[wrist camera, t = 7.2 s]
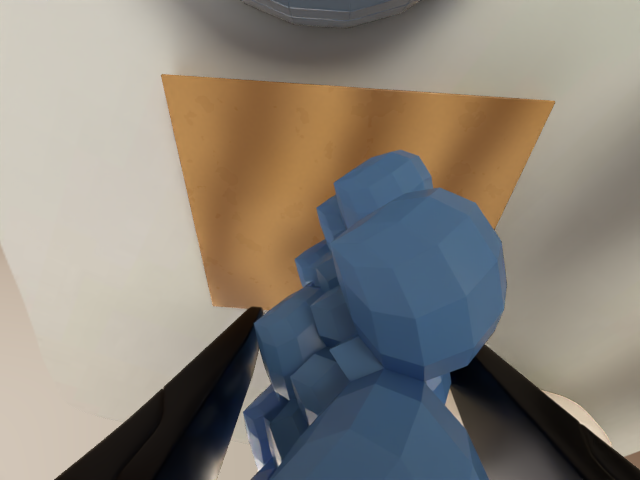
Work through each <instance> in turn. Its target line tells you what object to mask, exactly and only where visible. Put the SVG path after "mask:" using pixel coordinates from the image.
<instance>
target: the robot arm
mask: <svg viewBox="0 0 640 480" xmlns="http://www.w3.org/2000/svg"><path fill="white" fill-rule="evenodd" d="M262 316H263V308H262V307H257V306H251V307H250V308H249V309H248V310H246V311H245V312H244V313H243V314H242V315H241V316H240V317H239V318H238V319H237V320H236V321H235V322H233V323H232V324H231V325H230V326H229V327H228V328H227V329H226V330H225V331H224V332H223V333H222V334H220V335H219V336H218V337H217V338H216V339H215V340H214V341H213V342H212V343H211V344H210V345H209V346H207V347H206V348H205V349H204V350H203V351H202V352H201V353H200V354H199V355H198V356H197V357H196V358H195V359H193V360H192V361H191V362H190V363H189V364H188V365H187V366H186V367H185V368H184V369H183V370H182V371H180V372H179V373H178V374H177V375H176V376H175V377H174V378H173V379H172V380H171V381H170V382H169V383H167V384H166V385H165V386H164V389H161V390H160V391H159V392H158V393H156V394H155V395H154V396H153V397H152V398H151V399H150V400H149V401H148V402H147V403H146V404H144V405H143V406H142V407H141V408H140V409H139V410H138V411H137V412H135V413H134V414H133V415H132V416H131V417H130V418H129V419H128V420H126V421H125V422H124V423H123V424H122V425H121V426H119V427H118V428H117V429H116V430H114V431H113V432H112V433H111V434H110V435H108V436H107V437H106V438H105V439H104V440H103V441H101V442H100V443H99V444H98V445H96V446H95V447H94V448H93V449H91V450H90V451H89V452H88V453H86V454H85V455H84V456H83V457H82V458H80V459H79V460H78V461H77V462H75V463H74V464H73V465H72V466H71V467H69V468H68V469H67V470H65V471H64V472H63V473H62V474H61V475H59V476H58V477H57V478H56V479H54V480H217V478H218V475H219V471H220V469H221V466H222V463H223V460H224V457H225V454H226V451H227V448H228V445H229V442H230V440H231V437H232V434H233V431H234V428H235V425H236V422H237V419H238V416H239V413H240V410H241V407H242V405H243V402H244V399H245V396H246V393H247V390H248V387H249V384H250V381H251V378H252V375H253V372H254V368H255V364H256V360H257V355H258V351H259V345H258V340H257V336H256V331H255V326H254V323H255V322H256V321H257V320H258V319H260V318H261V317H262ZM450 376H451V385H450V390H451V393H452V396H453V398H454V401H455V404H456V406H457V409H458V412H459V414H460V417H461V420H462V423H463V425H464V428H465V429H466V430H467V432H468V435H469V437H470V439H471V441H472V443H473V446H474V448H475V450H476V452H477V454H478V456H479V459H480V461H481V463H482V465H483V467H484V470H485V472H486V474H487V476H488V478H489V480H640V470H639V469H638V468H637V467H636V466H634V465H633V464H632V463H630V462H629V461H628V460H627V459H625V458H624V457H623V456H622V455H620V454H619V453H618V452H617V451H615V450H614V449H613V448H612V447H610V446H609V445H608V444H607V443H605V442H604V441H603V440H602V439H600V438H599V437H598V436H597V435H595V434H594V433H593V432H592V431H591V430H589V429H588V428H587V427H586V426H584V425H583V424H580V423H579V421H578V420H577V419H576V418H574V417H573V416H572V415H571V414H570V413H568V412H567V411H566V410H565V409H563V408H562V407H561V406H560V405H558V404H557V403H556V402H555V401H554V400H552V399H551V398H550V397H549V396H547V395H546V394H545V393H544V392H543V391H541V390H540V389H539V388H538V387H536V386H535V385H534V384H533V383H531V382H530V381H529V380H528V379H527V378H525V377H524V376H523V375H522V374H520V373H519V372H518V371H517V370H515V369H514V368H513V367H512V366H511V365H509V364H508V363H507V362H506V361H504V360H503V359H502V358H501V357H500V356H498V355H497V354H496V353H495V352H493V351H492V350H491V349H490V348H488V347H487V346H486V345H485V344H484V345H483V346H482V348H481V349H480V350H479V352H478V353H477V354H476V355H475V357H474V358H473V359H472V361H471V362H470V363H469V364H468V366H465V367H463V368H460V369H457V370H454V371H452V372H450Z"/></svg>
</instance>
